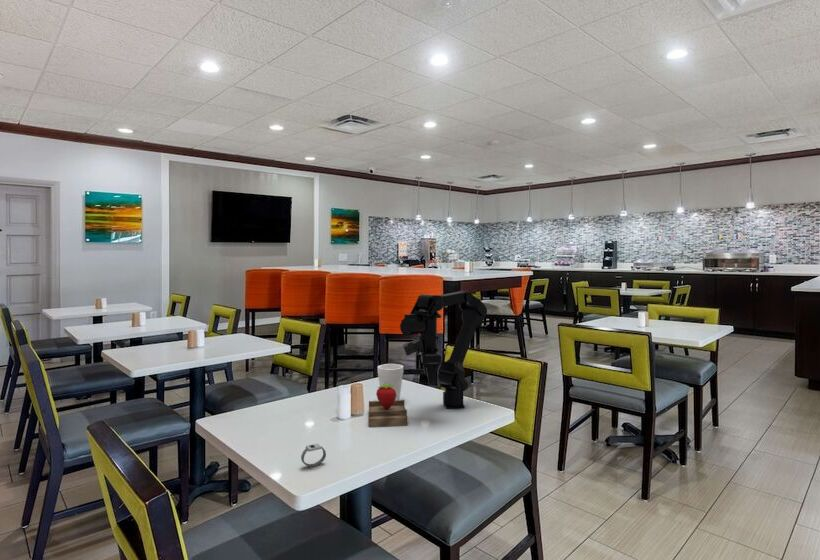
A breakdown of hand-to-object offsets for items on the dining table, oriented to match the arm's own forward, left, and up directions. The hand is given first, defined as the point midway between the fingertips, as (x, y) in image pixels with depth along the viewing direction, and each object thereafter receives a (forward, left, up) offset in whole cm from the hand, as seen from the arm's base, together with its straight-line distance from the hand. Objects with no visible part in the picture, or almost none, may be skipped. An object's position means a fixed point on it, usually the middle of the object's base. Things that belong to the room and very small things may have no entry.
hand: (428, 378), depth 158 cm
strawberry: (+14, +2, -10) cm, 17 cm away
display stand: (+14, +2, -12) cm, 19 cm away
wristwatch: (+34, +36, -12) cm, 51 cm away
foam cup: (+12, -15, -12) cm, 23 cm away
